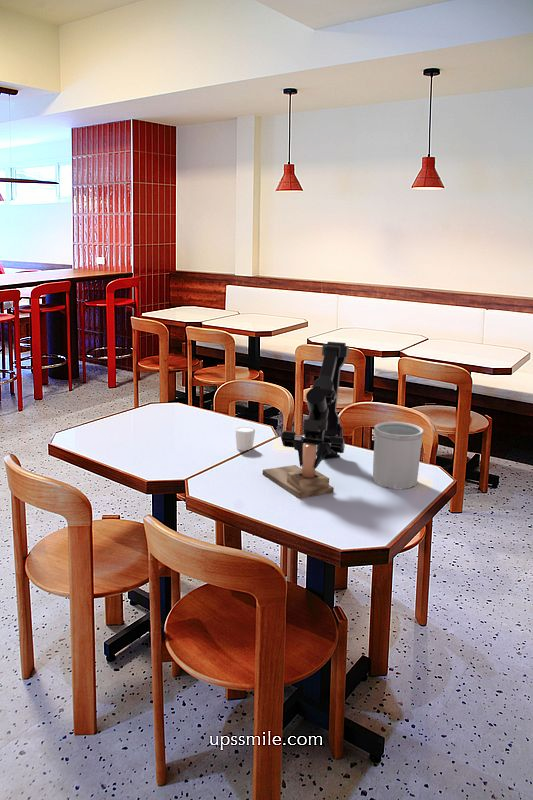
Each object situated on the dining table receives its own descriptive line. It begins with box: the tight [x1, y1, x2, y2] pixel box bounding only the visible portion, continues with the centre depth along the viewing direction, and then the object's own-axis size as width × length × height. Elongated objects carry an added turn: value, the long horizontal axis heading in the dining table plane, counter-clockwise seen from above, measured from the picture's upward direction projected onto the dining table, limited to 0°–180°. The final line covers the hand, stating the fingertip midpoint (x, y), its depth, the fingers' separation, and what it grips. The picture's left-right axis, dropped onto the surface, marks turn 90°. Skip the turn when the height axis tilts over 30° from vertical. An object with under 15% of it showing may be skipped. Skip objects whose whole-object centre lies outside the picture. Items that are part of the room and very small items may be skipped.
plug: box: [301, 443, 317, 479], centre depth 201 cm, size 4×4×11 cm
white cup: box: [235, 426, 256, 452], centre depth 239 cm, size 7×7×7 cm
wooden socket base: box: [262, 464, 335, 499], centre depth 207 cm, size 12×22×4 cm, turn 29°
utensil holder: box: [372, 421, 425, 490], centre depth 210 cm, size 15×15×18 cm
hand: (307, 466), depth 200 cm, fingers closed on plug, 4 cm apart
